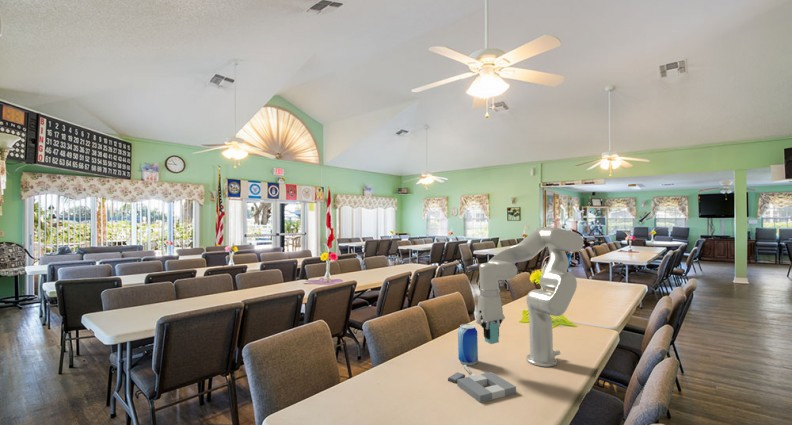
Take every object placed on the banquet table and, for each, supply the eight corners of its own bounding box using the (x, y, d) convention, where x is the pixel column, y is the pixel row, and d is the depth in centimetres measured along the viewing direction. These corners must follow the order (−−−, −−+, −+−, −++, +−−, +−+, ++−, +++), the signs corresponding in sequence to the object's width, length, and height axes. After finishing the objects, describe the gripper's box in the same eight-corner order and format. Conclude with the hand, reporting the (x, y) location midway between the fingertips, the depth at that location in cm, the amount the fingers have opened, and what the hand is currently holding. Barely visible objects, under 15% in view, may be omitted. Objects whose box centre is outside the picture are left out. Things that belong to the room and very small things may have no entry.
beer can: (466, 367, 151) (466, 329, 152) (454, 360, 159) (454, 325, 159) (481, 363, 155) (481, 327, 156) (469, 357, 163) (468, 322, 163)
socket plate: (491, 377, 141) (491, 371, 141) (516, 393, 128) (516, 386, 128) (457, 385, 134) (457, 379, 135) (480, 402, 122) (479, 395, 122)
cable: (463, 367, 151) (463, 364, 151) (465, 367, 152) (465, 364, 152) (472, 378, 141) (472, 375, 141) (475, 378, 141) (475, 375, 141)
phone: (457, 374, 144) (457, 372, 144) (465, 377, 142) (465, 374, 142) (448, 380, 139) (447, 377, 139) (455, 383, 136) (455, 380, 136)
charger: (492, 339, 149) (491, 319, 149) (498, 342, 145) (497, 321, 146) (484, 341, 148) (483, 321, 148) (491, 344, 144) (490, 323, 144)
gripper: (499, 289, 154) (501, 331, 153) (467, 293, 147) (469, 338, 147) (511, 292, 147) (513, 336, 146) (478, 297, 140) (480, 343, 140)
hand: (491, 336), depth 146 cm, fingers closed on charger, 4 cm apart
